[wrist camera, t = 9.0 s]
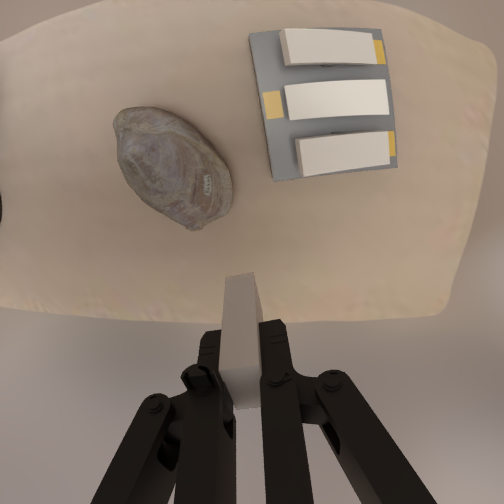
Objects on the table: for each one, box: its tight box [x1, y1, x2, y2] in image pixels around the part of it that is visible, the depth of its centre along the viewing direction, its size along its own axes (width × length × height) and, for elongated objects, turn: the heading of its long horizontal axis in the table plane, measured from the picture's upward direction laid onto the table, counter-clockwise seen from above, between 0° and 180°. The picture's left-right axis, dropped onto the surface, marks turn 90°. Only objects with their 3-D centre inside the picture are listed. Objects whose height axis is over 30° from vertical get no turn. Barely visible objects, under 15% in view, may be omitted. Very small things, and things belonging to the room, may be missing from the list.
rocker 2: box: [284, 79, 389, 120], centre depth 27 cm, size 10×4×2 cm, turn 99°
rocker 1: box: [279, 28, 377, 66], centre depth 24 cm, size 10×4×2 cm, turn 99°
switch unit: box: [249, 28, 398, 182], centre depth 30 cm, size 15×17×5 cm
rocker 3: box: [295, 130, 390, 177], centre depth 29 cm, size 10×4×2 cm, turn 99°
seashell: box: [113, 107, 233, 231], centre depth 31 cm, size 9×12×15 cm
